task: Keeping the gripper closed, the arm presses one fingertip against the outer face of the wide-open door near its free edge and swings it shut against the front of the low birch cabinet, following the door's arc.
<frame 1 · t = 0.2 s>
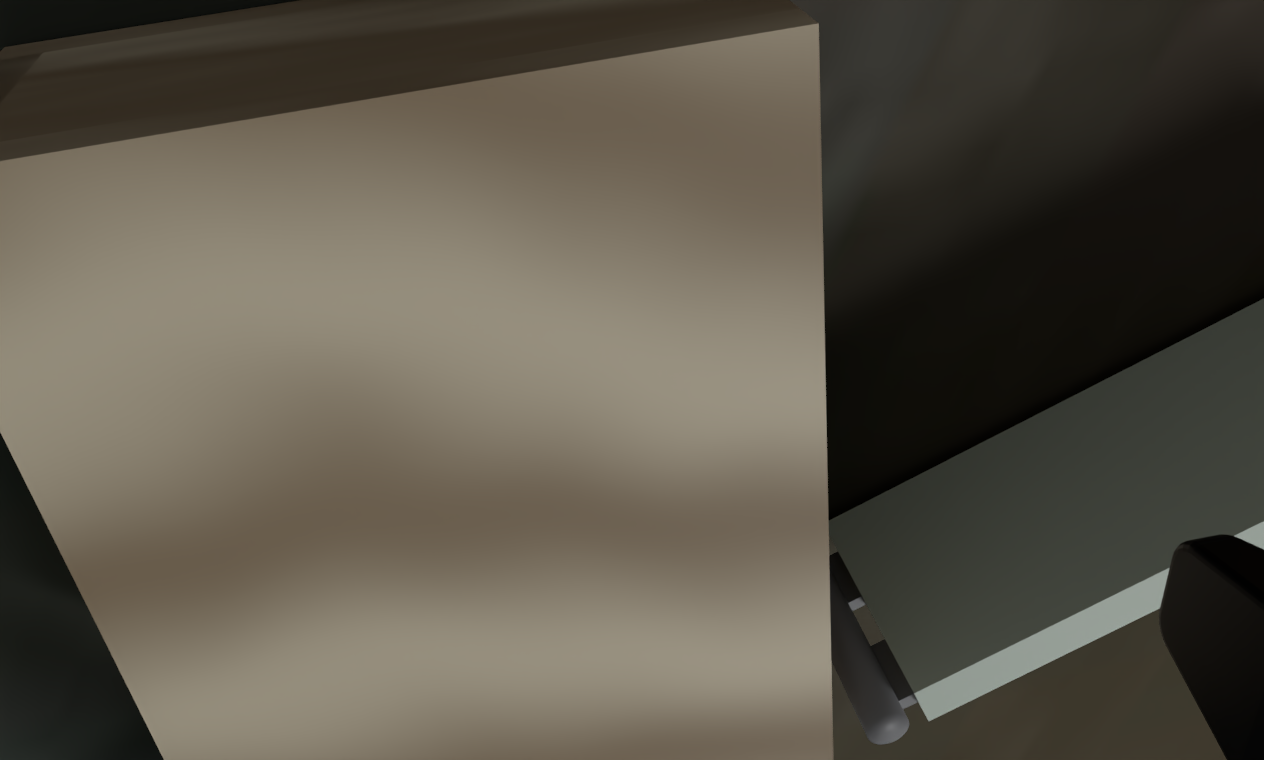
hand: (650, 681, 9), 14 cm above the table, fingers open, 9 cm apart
door: (1135, 484, 25), point 3 cm above the table, hinge at 70.0°
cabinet: (451, 359, 24), on the table
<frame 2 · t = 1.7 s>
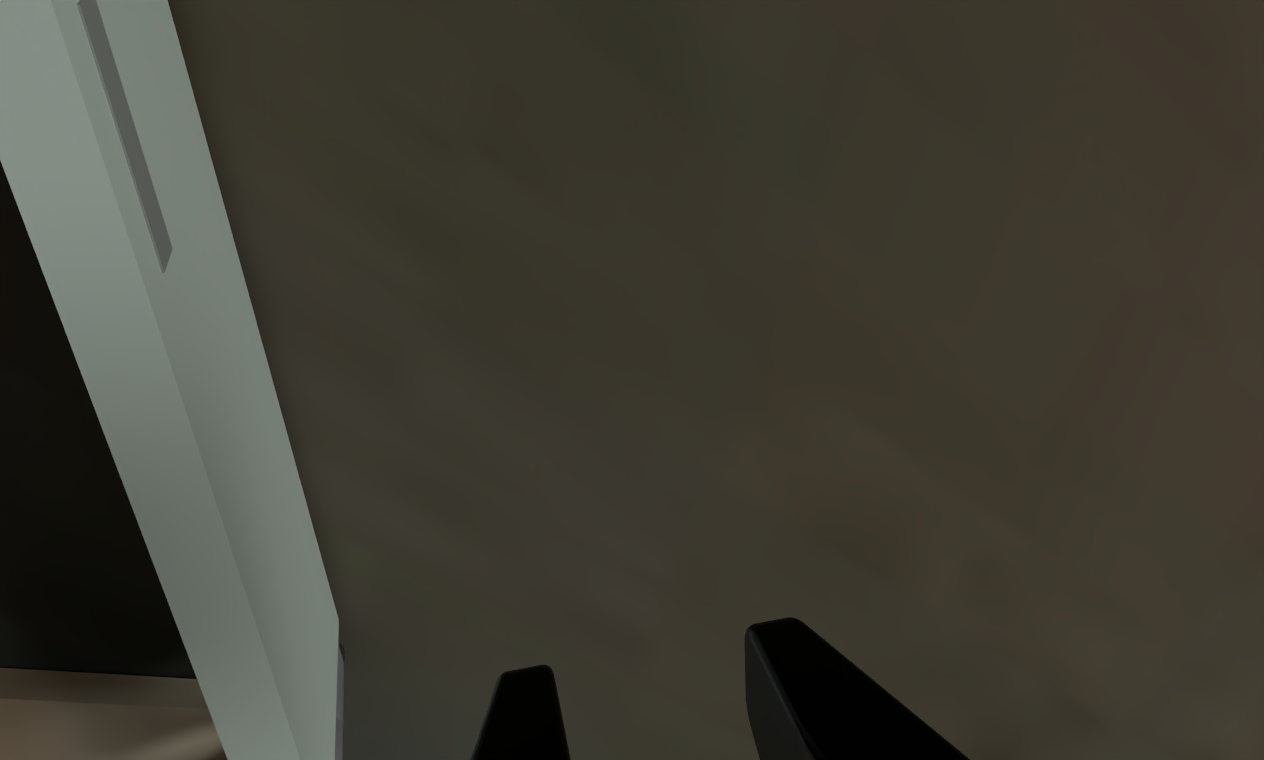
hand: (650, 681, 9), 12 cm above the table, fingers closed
door: (217, 444, 17), point 3 cm above the table, hinge at 70.0°
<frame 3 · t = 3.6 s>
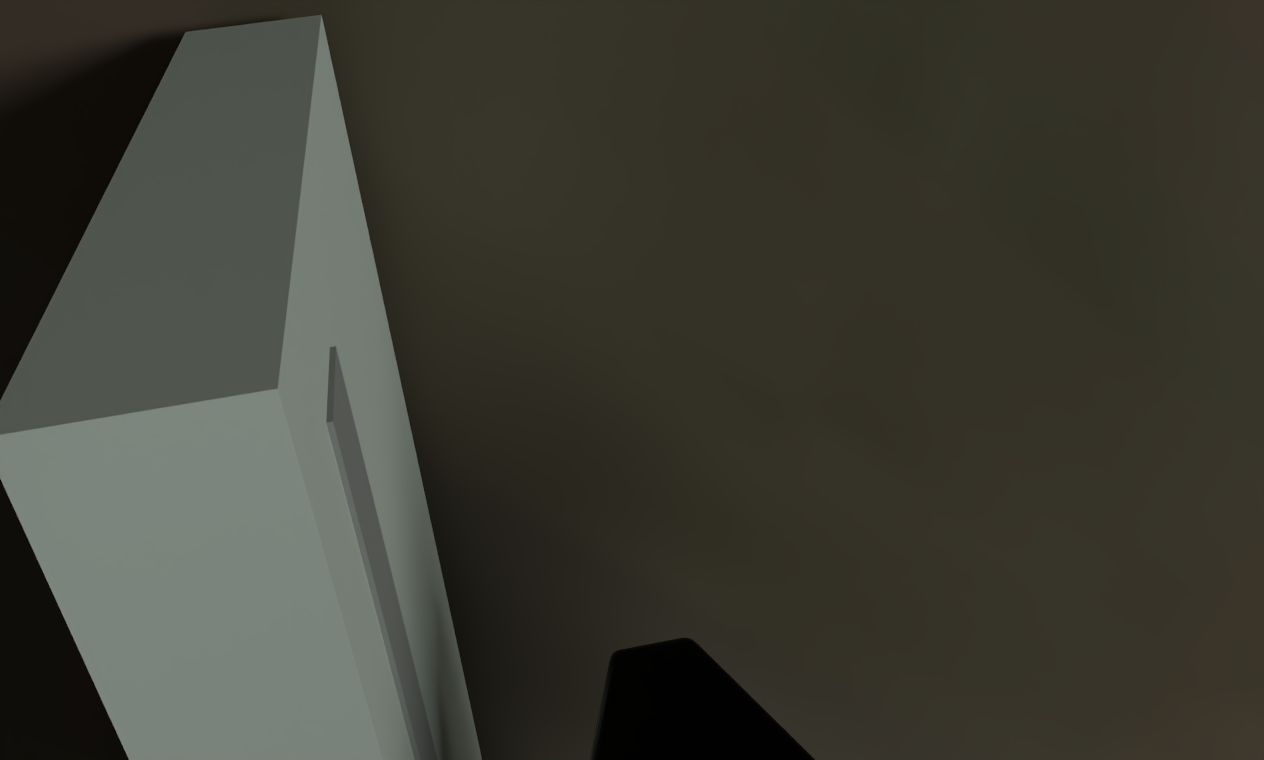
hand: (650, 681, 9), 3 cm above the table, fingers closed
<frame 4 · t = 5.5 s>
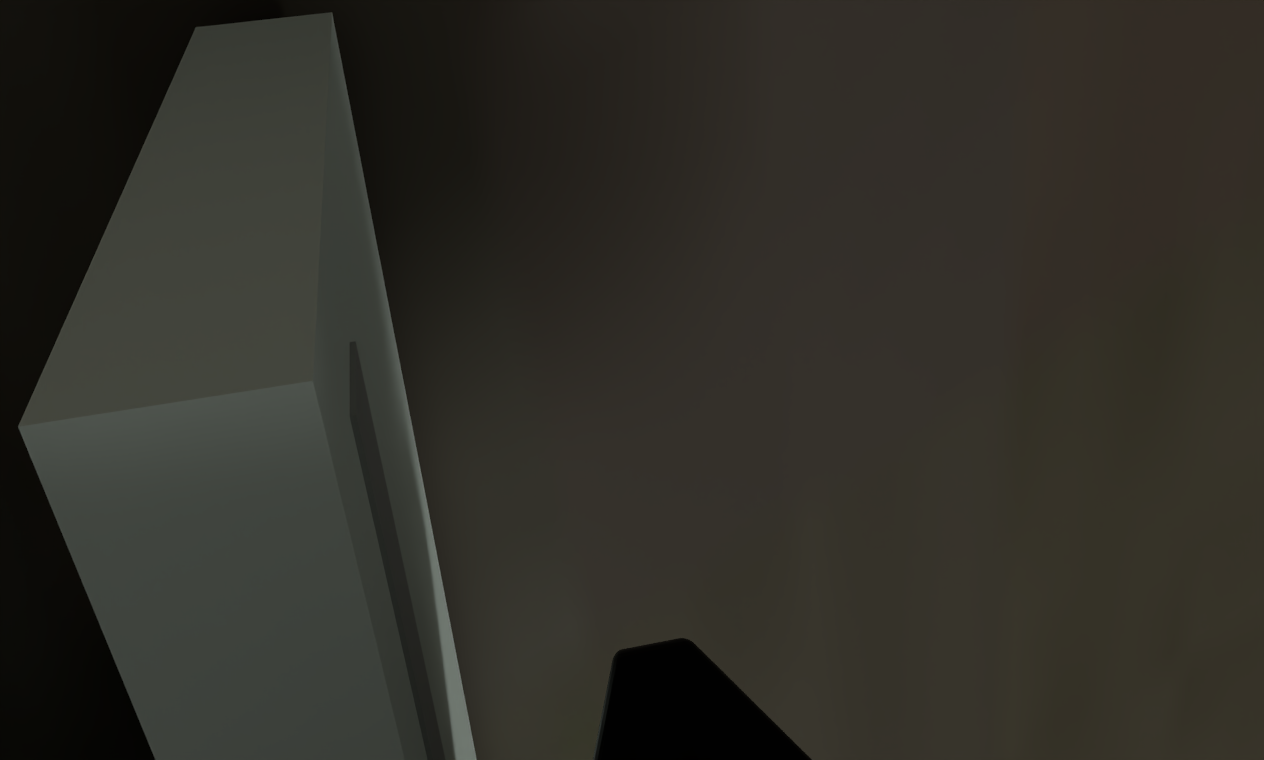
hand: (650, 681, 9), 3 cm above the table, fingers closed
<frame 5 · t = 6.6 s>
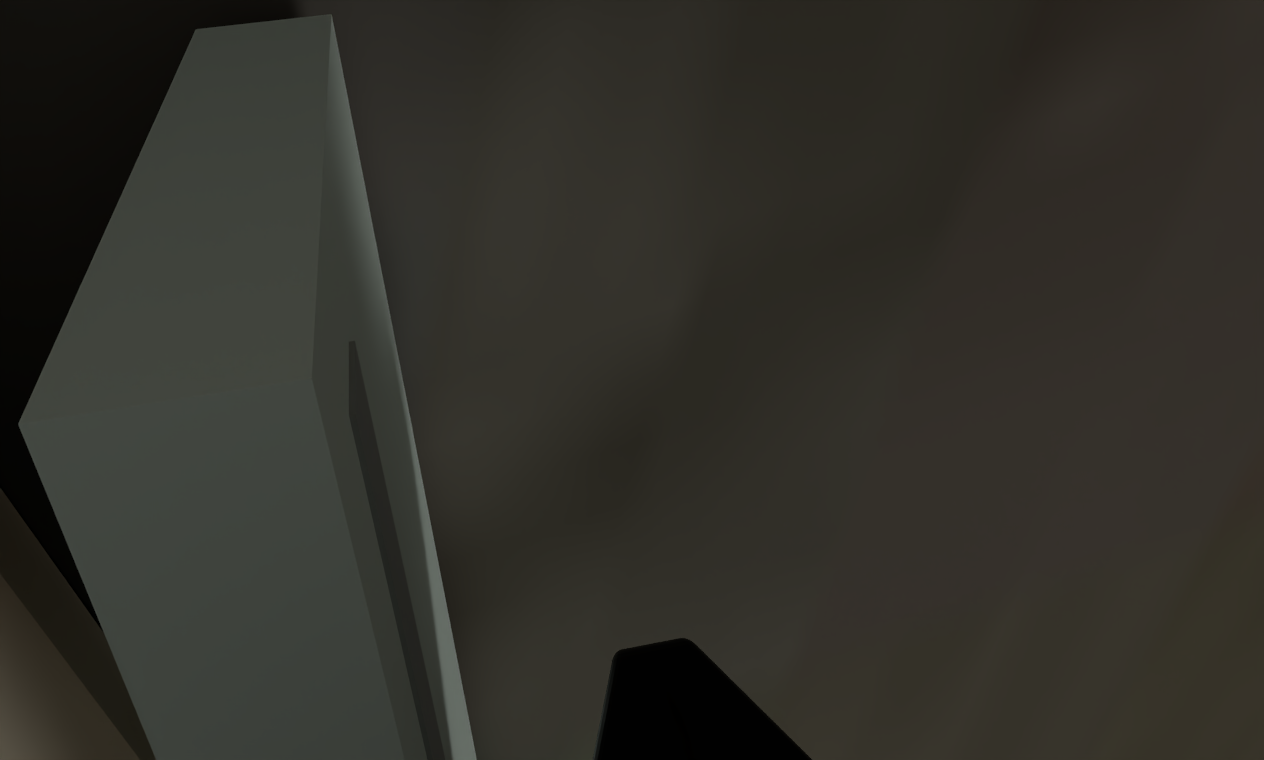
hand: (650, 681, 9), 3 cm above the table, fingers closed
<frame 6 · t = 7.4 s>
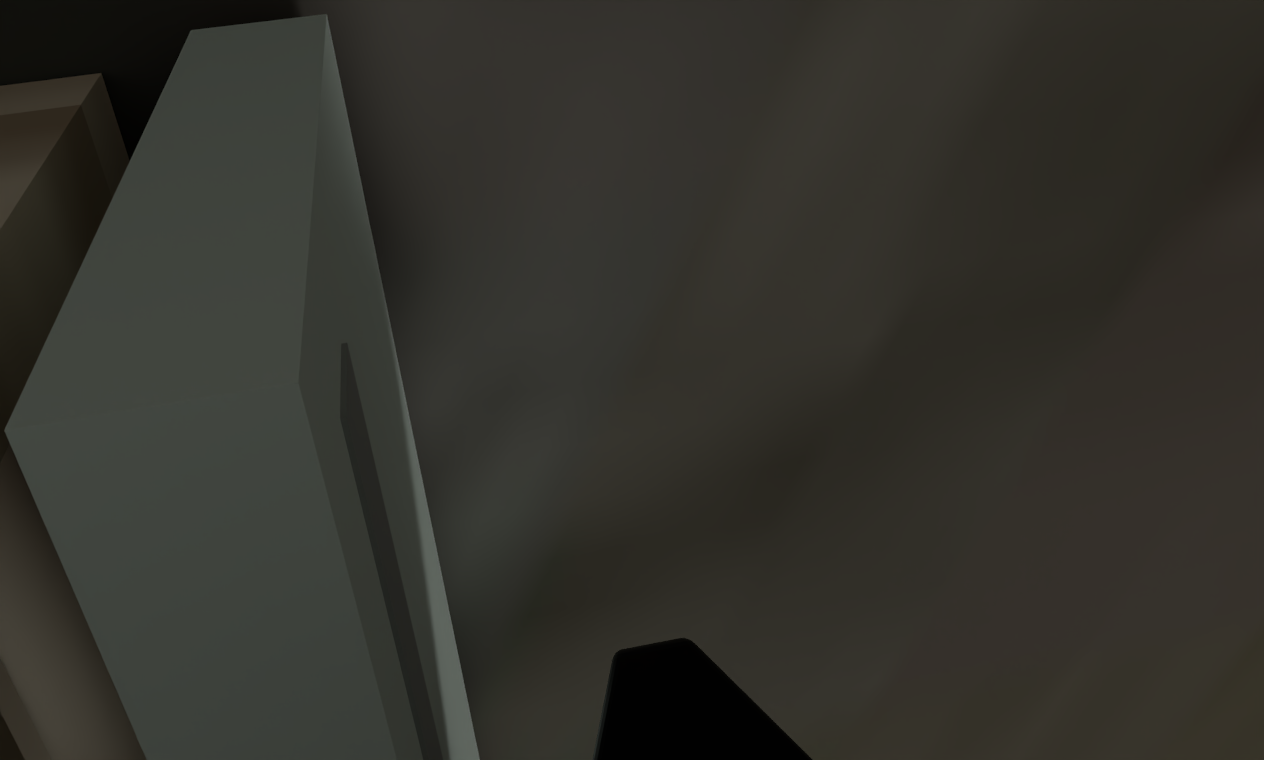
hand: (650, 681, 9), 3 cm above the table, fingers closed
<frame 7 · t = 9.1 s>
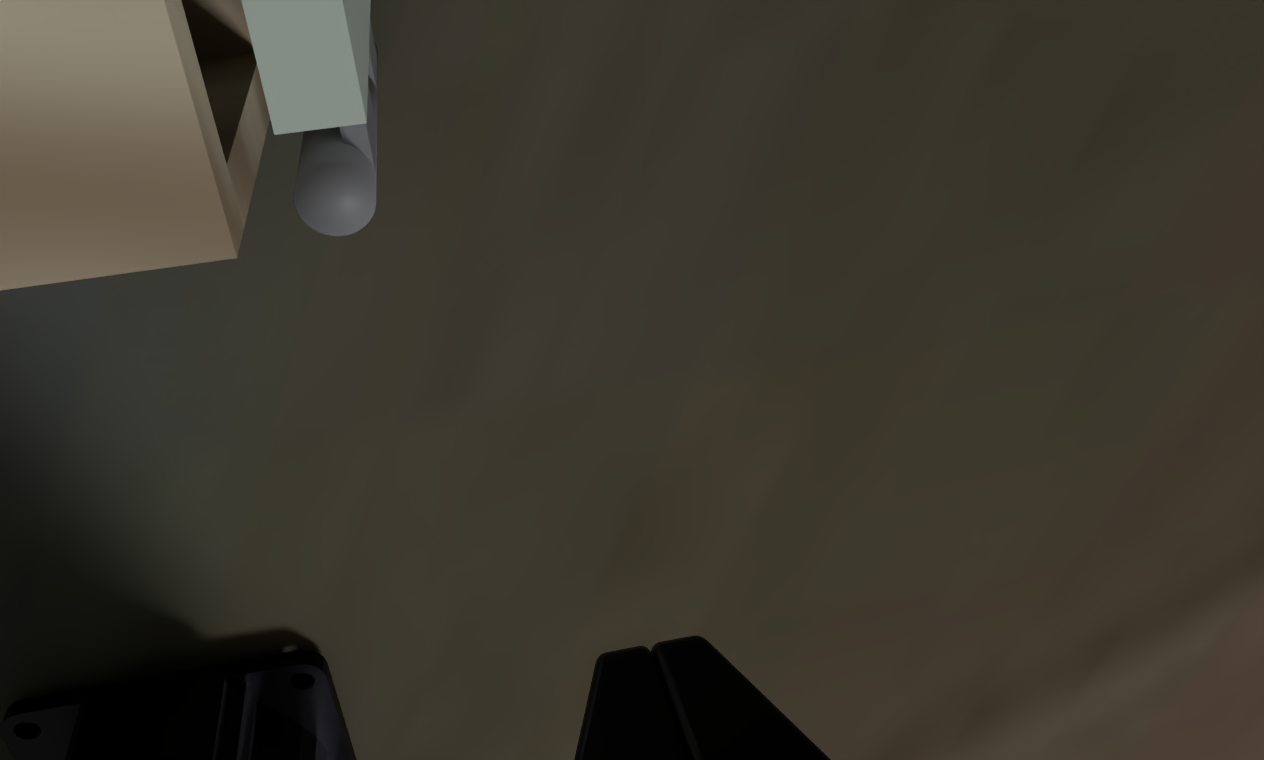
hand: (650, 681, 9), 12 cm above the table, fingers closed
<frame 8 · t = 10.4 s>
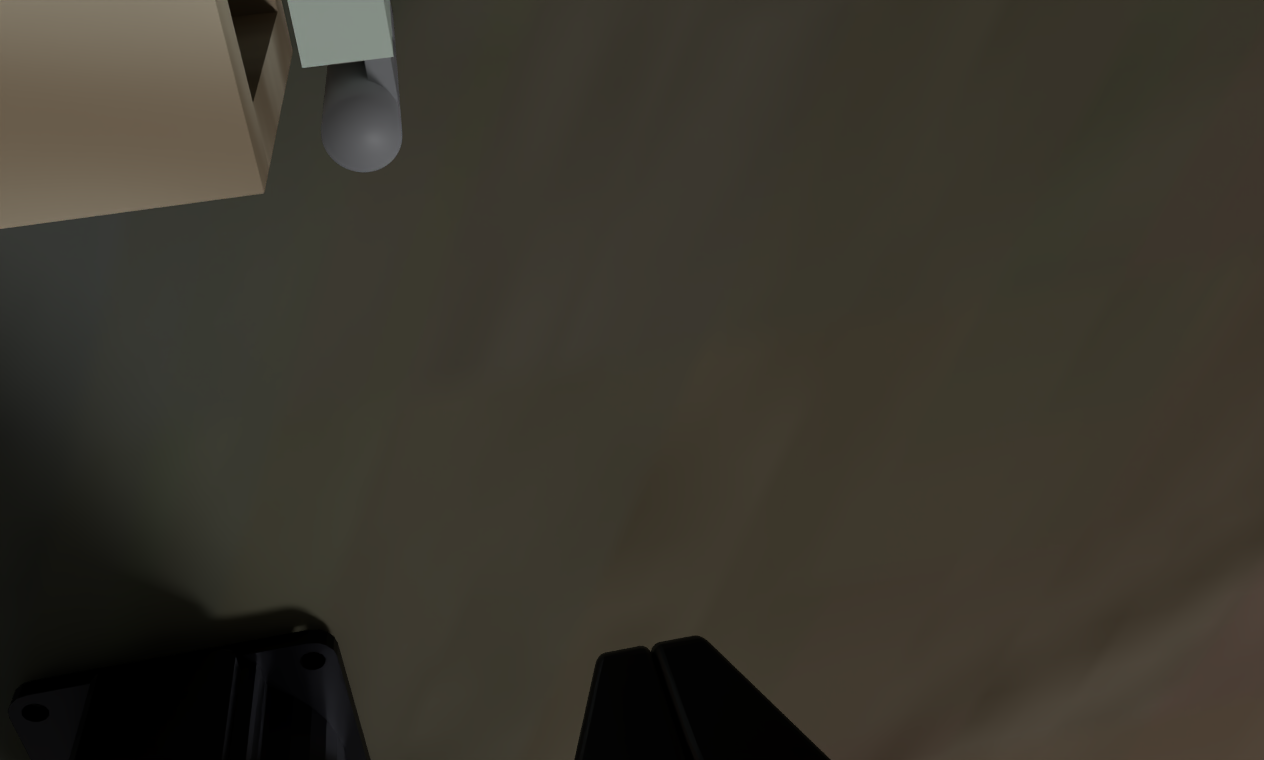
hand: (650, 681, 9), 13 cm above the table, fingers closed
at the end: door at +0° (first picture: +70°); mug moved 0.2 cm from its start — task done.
